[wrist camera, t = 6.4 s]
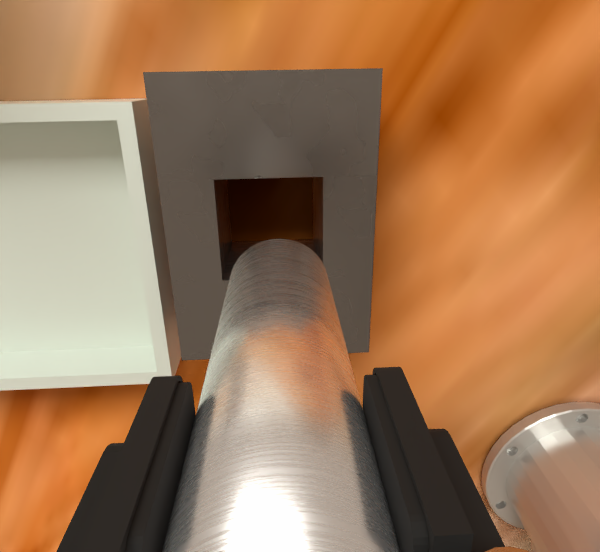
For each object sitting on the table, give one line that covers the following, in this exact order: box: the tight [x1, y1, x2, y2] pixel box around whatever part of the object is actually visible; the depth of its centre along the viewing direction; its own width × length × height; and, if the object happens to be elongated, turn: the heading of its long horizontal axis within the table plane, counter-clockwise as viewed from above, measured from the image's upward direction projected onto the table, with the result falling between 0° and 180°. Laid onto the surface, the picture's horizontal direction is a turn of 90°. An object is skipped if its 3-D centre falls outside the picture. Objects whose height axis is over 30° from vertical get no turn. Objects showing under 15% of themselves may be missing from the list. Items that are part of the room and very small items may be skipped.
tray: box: [0, 98, 181, 391], centre depth 26 cm, size 16×16×4 cm
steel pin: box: [162, 239, 400, 552], centre depth 10 cm, size 4×4×16 cm
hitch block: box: [143, 68, 382, 360], centre depth 25 cm, size 14×10×6 cm
